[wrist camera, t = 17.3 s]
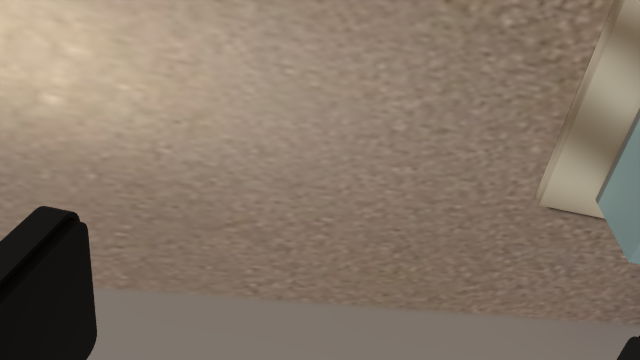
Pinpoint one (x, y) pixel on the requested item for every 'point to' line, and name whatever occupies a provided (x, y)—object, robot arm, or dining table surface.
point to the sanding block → (624, 194)
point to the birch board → (597, 117)
